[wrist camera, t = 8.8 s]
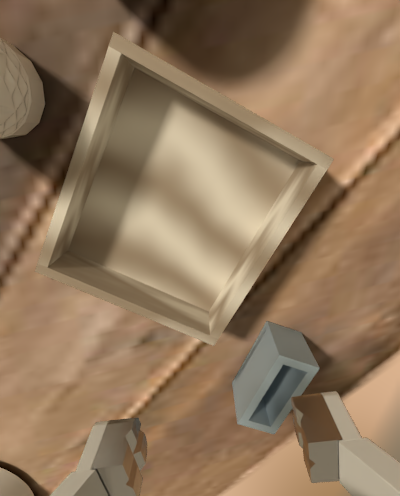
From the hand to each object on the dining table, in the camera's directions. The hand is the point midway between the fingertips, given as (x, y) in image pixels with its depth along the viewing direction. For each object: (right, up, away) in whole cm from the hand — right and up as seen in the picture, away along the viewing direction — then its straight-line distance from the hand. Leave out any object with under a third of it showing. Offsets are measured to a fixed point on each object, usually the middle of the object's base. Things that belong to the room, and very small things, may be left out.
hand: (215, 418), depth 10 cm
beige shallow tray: (-3, +10, +15) cm, 18 cm away
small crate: (+7, -6, +21) cm, 23 cm away
